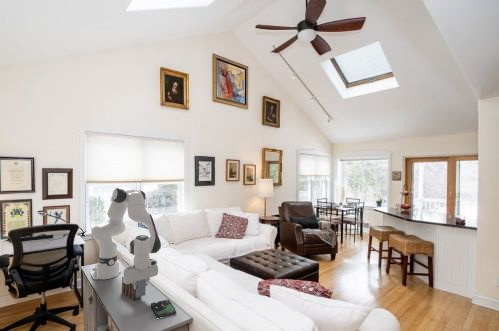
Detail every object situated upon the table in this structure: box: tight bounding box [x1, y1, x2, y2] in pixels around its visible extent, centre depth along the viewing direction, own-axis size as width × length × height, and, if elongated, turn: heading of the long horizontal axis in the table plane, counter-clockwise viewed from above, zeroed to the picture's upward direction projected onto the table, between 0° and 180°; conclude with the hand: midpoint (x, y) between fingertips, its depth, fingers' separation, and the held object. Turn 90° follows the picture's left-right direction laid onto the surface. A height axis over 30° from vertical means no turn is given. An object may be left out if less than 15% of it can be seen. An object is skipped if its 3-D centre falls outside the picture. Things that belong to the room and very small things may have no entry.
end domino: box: [136, 279, 147, 299], centre depth 158 cm, size 2×5×10 cm, turn 140°
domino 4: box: [131, 284, 142, 301], centre depth 161 cm, size 2×5×10 cm, turn 140°
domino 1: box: [121, 276, 125, 295], centre depth 169 cm, size 2×5×10 cm, turn 140°
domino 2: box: [124, 284, 129, 297], centre depth 166 cm, size 2×5×10 cm, turn 139°
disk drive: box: [150, 299, 177, 319], centre depth 147 cm, size 10×3×15 cm
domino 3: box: [127, 283, 132, 299], centre depth 163 cm, size 2×5×10 cm, turn 139°
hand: (140, 287), depth 158 cm, fingers closed on end domino, 5 cm apart
